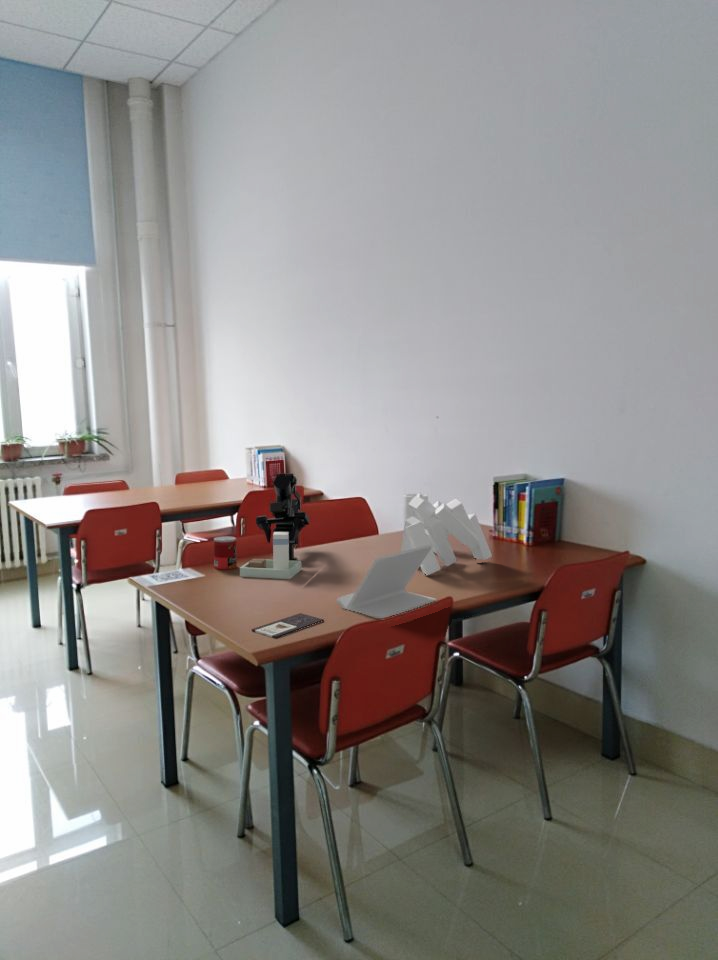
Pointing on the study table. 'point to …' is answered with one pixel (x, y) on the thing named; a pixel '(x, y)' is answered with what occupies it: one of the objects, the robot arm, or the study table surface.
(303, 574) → the study table surface
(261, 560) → the walnut block
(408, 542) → the white geometric sculpture
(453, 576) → the study table surface
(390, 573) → the tablet stand
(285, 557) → the carton
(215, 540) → the canned food
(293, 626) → the chocolate bar
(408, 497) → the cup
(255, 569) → the pale green tray
